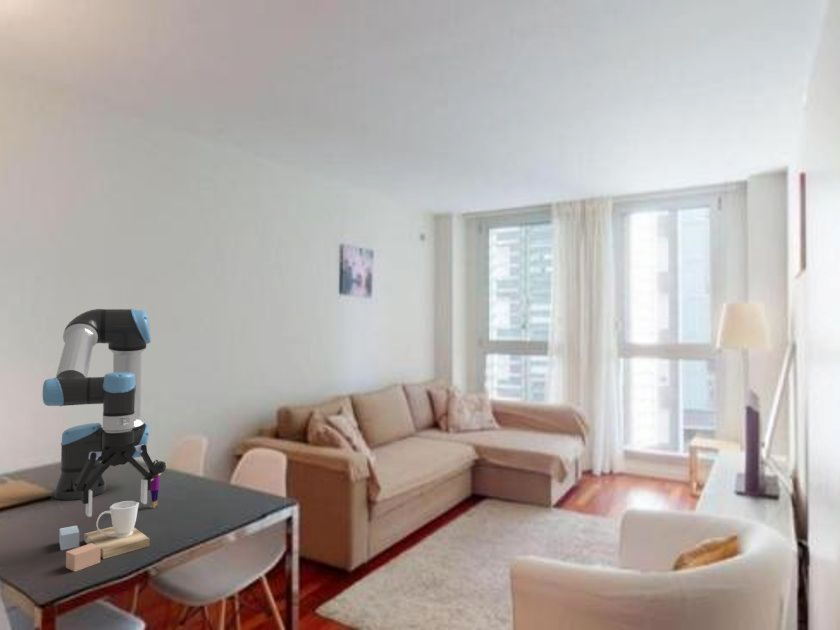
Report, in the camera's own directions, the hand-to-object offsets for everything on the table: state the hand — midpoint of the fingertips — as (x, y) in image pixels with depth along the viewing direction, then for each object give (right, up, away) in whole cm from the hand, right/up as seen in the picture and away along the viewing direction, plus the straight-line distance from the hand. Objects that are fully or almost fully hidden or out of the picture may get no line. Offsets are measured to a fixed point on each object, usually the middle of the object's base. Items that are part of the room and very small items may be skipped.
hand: (117, 509), depth 146 cm
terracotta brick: (-1, -9, -13) cm, 16 cm away
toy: (-3, -10, +29) cm, 30 cm away
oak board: (0, -9, 0) cm, 9 cm away
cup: (0, -7, 0) cm, 7 cm away
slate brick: (-12, -9, -1) cm, 15 cm away
